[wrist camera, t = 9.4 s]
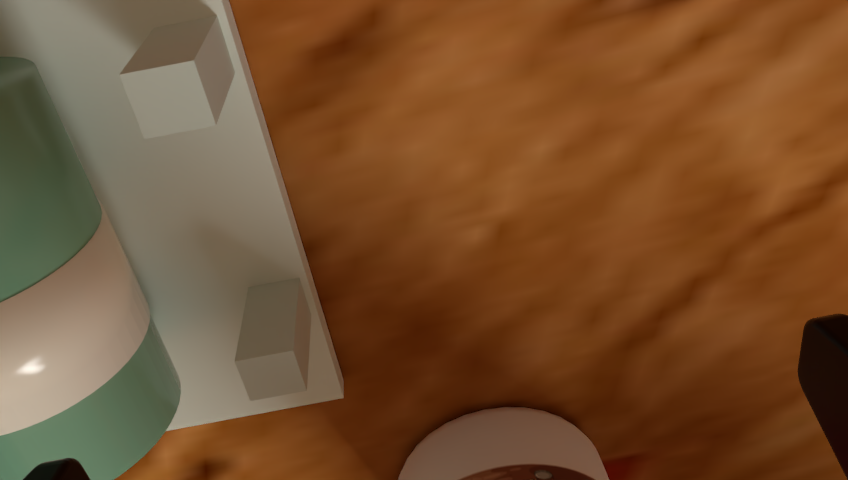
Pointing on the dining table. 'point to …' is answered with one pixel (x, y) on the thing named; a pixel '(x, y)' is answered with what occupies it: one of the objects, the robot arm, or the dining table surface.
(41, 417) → the bottle
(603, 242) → the dining table surface
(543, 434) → the milk bottle
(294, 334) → the white four-legged tray
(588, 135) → the dining table surface
